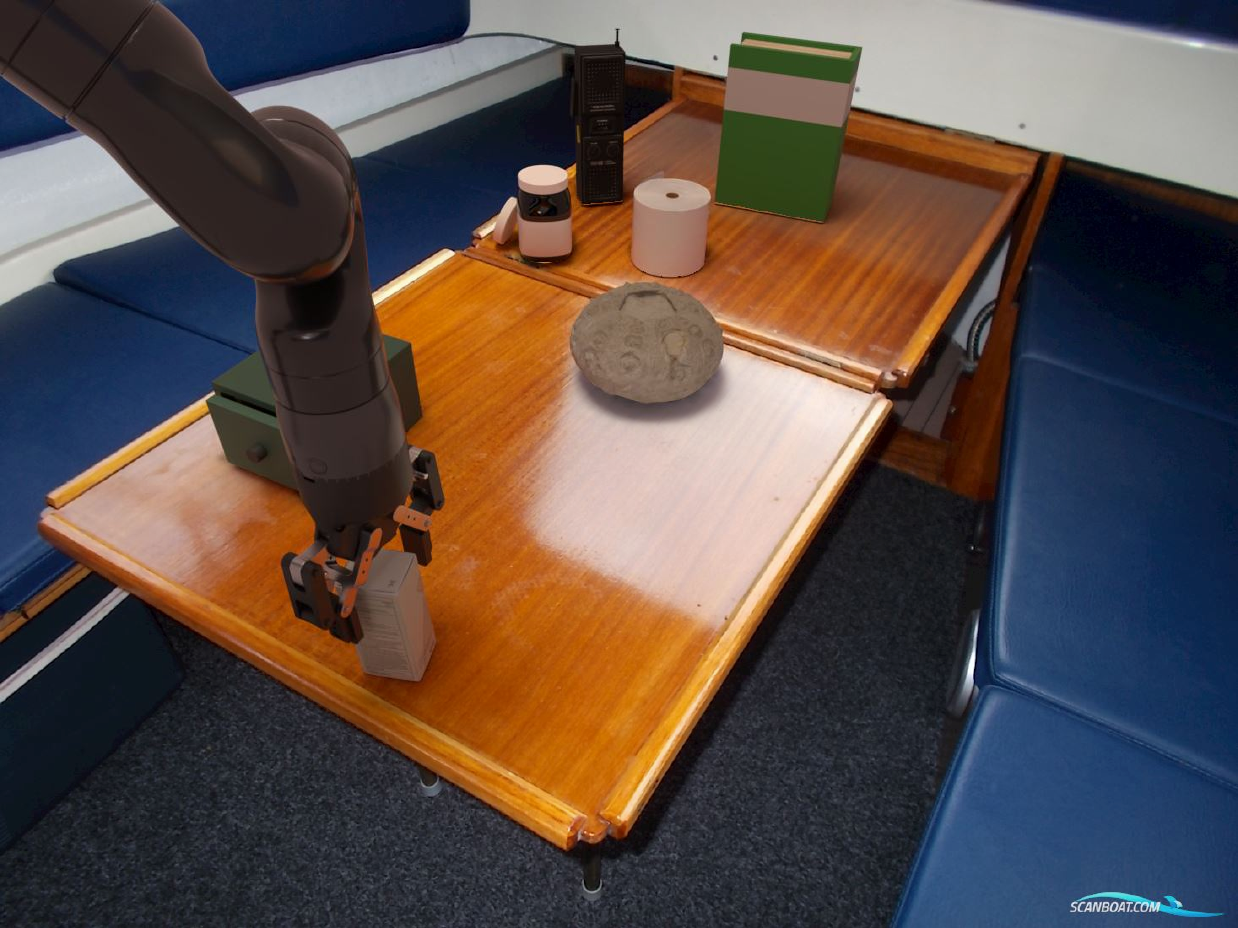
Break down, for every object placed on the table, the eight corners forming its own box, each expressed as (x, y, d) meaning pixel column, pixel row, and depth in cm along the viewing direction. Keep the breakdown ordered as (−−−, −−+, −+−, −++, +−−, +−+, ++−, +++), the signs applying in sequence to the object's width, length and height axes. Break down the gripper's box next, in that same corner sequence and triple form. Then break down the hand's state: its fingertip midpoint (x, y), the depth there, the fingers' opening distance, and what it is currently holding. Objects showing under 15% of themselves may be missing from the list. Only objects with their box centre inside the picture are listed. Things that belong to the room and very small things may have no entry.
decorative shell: (750, 379, 103) (761, 306, 96) (646, 444, 93) (650, 368, 87) (643, 320, 112) (646, 250, 105) (539, 374, 103) (535, 300, 96)
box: (438, 641, 73) (420, 552, 66) (419, 684, 70) (400, 595, 62) (379, 632, 74) (355, 542, 66) (358, 673, 70) (331, 584, 63)
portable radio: (576, 209, 136) (574, 39, 120) (568, 193, 141) (566, 27, 124) (624, 204, 138) (629, 36, 121) (615, 189, 142) (618, 25, 126)
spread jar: (575, 268, 122) (574, 189, 114) (495, 272, 121) (489, 192, 113) (567, 229, 131) (566, 154, 123) (492, 232, 130) (486, 156, 122)
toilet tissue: (666, 286, 119) (670, 218, 112) (609, 253, 125) (610, 187, 119) (719, 263, 124) (727, 196, 118) (663, 233, 131) (666, 168, 124)
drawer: (307, 506, 84) (288, 443, 78) (218, 468, 87) (195, 407, 82) (401, 422, 94) (390, 362, 88) (318, 392, 97) (303, 332, 92)
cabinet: (334, 497, 86) (313, 420, 79) (237, 457, 90) (210, 381, 84) (423, 416, 96) (411, 342, 89) (332, 384, 100) (314, 311, 94)
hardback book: (714, 204, 139) (730, 45, 123) (726, 187, 144) (743, 31, 128) (822, 224, 134) (854, 61, 119) (831, 205, 140) (862, 47, 124)
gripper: (369, 365, 62) (403, 523, 73) (220, 484, 52) (283, 646, 63) (456, 394, 60) (477, 553, 70) (316, 525, 50) (365, 686, 61)
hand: (386, 597), depth 67 cm, fingers open, 8 cm apart
